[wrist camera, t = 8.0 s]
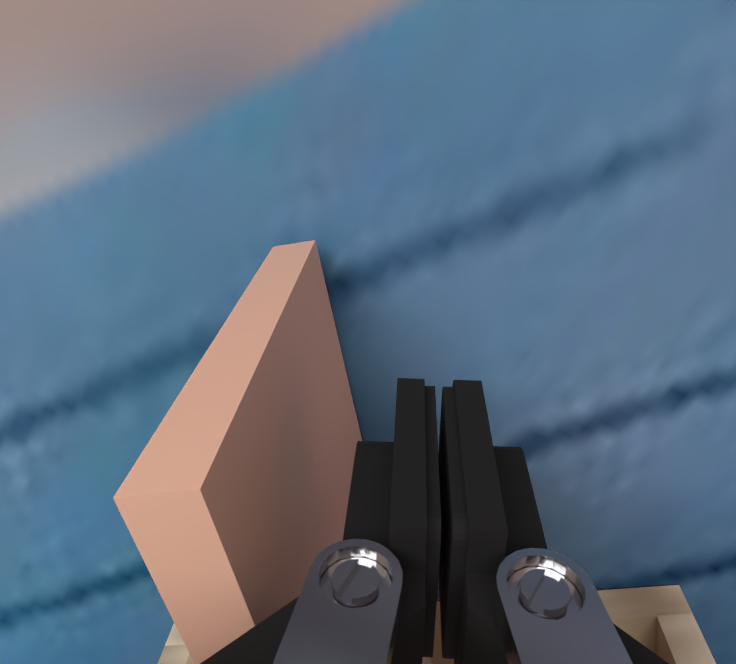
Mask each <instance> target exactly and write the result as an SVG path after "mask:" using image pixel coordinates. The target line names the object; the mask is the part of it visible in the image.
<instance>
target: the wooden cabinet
mask: <svg viewBox="0 0 736 664" xmlns="http://www.w3.org/2000/svg"><path fill="white" fill-rule="evenodd" d="M597 592H598V594H599V596H600V598H601V600H602V602H603V604H604V606H605V608H606V610H607V612H608V614H609V616H610V618H611V620H612V622H613V623H614V624H615V625H616V626H618V627H619V628H621V629H622V630H623V631H625V632H626V633H627V634H629V635H630V636H632V637H633V638H634V639H636V640H637V641H638V642H640V643H641V644H643V645H644V646H645V647H647V648H648V649H649V650H651V651H652V652H654V653H655V654H656V655H658V656H659V657H660V658H662V659H663V660H665V661H666V662H667V663H669V664H716V663H715V660H714V658H713V656H712V654H711V652H710V650H709V648H708V645H707V643H706V641H705V639H704V637H703V635H702V633H701V631H700V628H699V626H698V624H697V622H696V620H695V618H694V616H693V614H692V611H691V609H690V607H689V605H688V603H687V601H686V599H685V596H684V594H683V592H682V590H681V588H680V586H679V585H669V586H655V587H640V588H626V589H611V590H597ZM158 664H194V662H193V660H192V658H191V656H190V654H189V652H188V650H187V648H186V645H185V643H184V641H183V639H182V637H181V635H180V633H179V631H178V629H177V627H176V625H175V623H174V624H173V627H172V629H171V632H170V634H169V637H168V639H167V642H166V644H165V647H164V649H163V652H162V654H161V657H160V659H159V662H158ZM422 664H454V659H446V658H442V644H441V618H440V601H437V605H436V619H435V634H434V649H433V658H430V657H423V659H422Z"/></svg>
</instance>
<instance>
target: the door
mask: <svg viewBox="0 0 736 664" xmlns="http://www.w3.org/2000/svg"><path fill="white" fill-rule="evenodd" d="M358 441H362V438H361V433H360V429H359V425H358V420H357V416H356V412H355V408H354V403H353V399H352V395H351V390H350V386H349V382H348V378H347V373H346V369H345V365H344V361H343V356H342V352H341V348H340V343H339V339H338V335H337V331H336V326H335V322H334V318H333V313H332V309H331V305H330V301H329V296H328V292H327V288H326V284H325V279H324V275H323V271H322V266H321V262H320V258H319V254H318V249H317V245H316V241H315V240H313V241H306V242H300V243H294V244H287V245H281V246H275V247H273V248H272V249H271V251H270V253H269V254H268V256H267V257H266V259H265V260H264V262H263V264H262V265H261V267H260V268H259V270H258V271H257V273H256V274H255V276H254V278H253V279H252V281H251V282H250V284H249V285H248V287H247V289H246V290H245V292H244V293H243V295H242V296H241V298H240V300H239V301H238V303H237V304H236V306H235V307H234V309H233V311H232V312H231V314H230V315H229V317H228V318H227V320H226V322H225V323H224V325H223V326H222V328H221V329H220V331H219V333H218V334H217V336H216V337H215V339H214V340H213V342H212V343H211V345H210V347H209V348H208V350H207V351H206V353H205V354H204V356H203V358H202V359H201V361H200V362H199V364H198V365H197V367H196V369H195V370H194V372H193V373H192V375H191V376H190V378H189V380H188V381H187V383H186V384H185V386H184V387H183V389H182V391H181V392H180V394H179V395H178V397H177V398H176V400H175V402H174V403H173V405H172V406H171V408H170V409H169V411H168V412H167V414H166V416H165V417H164V419H163V420H162V422H161V423H160V425H159V427H158V428H157V430H156V431H155V433H154V434H153V436H152V438H151V439H150V441H149V442H148V444H147V445H146V447H145V449H144V450H143V452H142V453H141V455H140V456H139V458H138V460H137V461H136V463H135V464H134V466H133V467H132V469H131V471H130V472H129V474H128V475H127V477H126V478H125V480H124V481H123V483H122V485H121V486H120V488H119V489H118V491H117V492H116V494H115V496H114V497H113V499H114V501H115V503H116V505H117V507H118V509H119V511H120V513H121V515H122V517H123V519H124V521H125V523H126V525H127V527H128V530H129V532H130V534H131V536H132V538H133V540H134V542H135V544H136V546H137V548H138V550H139V552H140V554H141V556H142V558H143V560H144V562H145V564H146V566H147V568H148V570H149V572H150V574H151V576H152V578H153V580H154V582H155V584H156V586H157V589H158V591H159V593H160V595H161V597H162V599H163V601H164V603H165V605H166V607H167V609H168V611H169V613H170V615H171V617H172V619H173V621H174V623H175V625H176V627H177V629H178V631H179V633H180V635H181V637H182V639H183V641H184V643H185V645H186V648H187V650H188V652H189V654H190V656H191V658H192V660H193V662H194V664H200V663H202V662H203V661H205V660H206V659H208V658H209V657H211V656H212V655H213V654H215V653H216V652H218V651H219V650H221V649H222V648H224V647H225V646H227V645H228V644H230V643H231V642H232V641H234V640H235V639H237V638H238V637H240V636H241V635H243V634H244V633H246V632H247V631H249V630H250V629H251V628H253V627H254V626H256V625H257V624H259V623H260V622H262V621H263V620H265V619H266V618H268V617H269V616H271V615H272V614H273V613H275V612H276V611H278V610H279V609H281V608H282V607H284V606H285V605H287V604H288V603H290V602H291V601H292V600H294V599H295V598H297V597H298V596H299V594H300V592H301V589H302V587H303V584H304V581H305V579H306V576H307V574H308V571H309V568H310V566H311V565H312V563H313V561H314V559H315V558H316V556H317V555H318V554H319V553H321V552H322V551H323V550H324V549H325V548H326V547H328V546H330V545H332V544H334V543H337V542H339V541H343V534H344V527H345V520H346V513H347V506H348V499H349V492H350V486H351V479H352V472H353V465H354V458H355V451H356V445H357V442H358Z"/></svg>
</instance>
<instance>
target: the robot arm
mask: <svg viewBox="0 0 736 664" xmlns="http://www.w3.org/2000/svg"><path fill="white" fill-rule="evenodd" d="M438 575H439V592H440V618H441V644H442V658H446V659H454V664H669V663H667V662H666V661H665V660H663V659H662V658H660V657H659V656H658V655H656V654H655V653H654V652H652V651H651V650H649V649H648V648H647V647H645V646H644V645H643V644H641V643H640V642H638V641H637V640H636V639H634V638H633V637H632V636H630V635H629V634H627V633H626V632H625V631H623V630H622V629H621V628H619V627H618V626H616V625H615V624H614V623H613V622H612V620H611V618H610V616H609V614H608V612H607V610H606V608H605V606H604V604H603V602H602V600H601V598H600V596H599V594H598V592H597V590H596V588H595V586H594V584H593V582H592V580H591V579H590V578H589V576H588V575H587V573H586V572H585V570H584V569H582V568H581V567H580V566H579V565H578V564H577V563H576V562H574V561H573V560H572V559H570V558H568V557H566V556H564V555H562V554H560V553H558V552H555V551H551V550H548V549H547V546H546V542H545V538H544V534H543V530H542V526H541V522H540V518H539V513H538V509H537V505H536V501H535V497H534V493H533V489H532V485H531V481H530V477H529V473H528V469H527V465H526V461H525V456H524V453H523V450H522V449H521V448H520V447H498V446H493V444H492V438H491V432H490V427H489V421H488V415H487V410H486V404H485V398H484V393H483V387H482V382H481V381H470V380H454V381H453V387H443V389H442V404H441V421H440V437H439V454H438V441H437V420H436V399H435V386H425V383H424V379H408V378H398V382H397V400H396V418H395V436H394V442H373V441H358V442H357V445H356V451H355V458H354V465H353V472H352V479H351V486H350V492H349V499H348V506H347V513H346V520H345V527H344V534H343V541H339V542H337V543H334V544H332V545H330V546H328V547H326V548H325V549H324V550H323V551H322V552H321V553H319V554H318V555H317V556H316V558H315V559H314V561H313V563H312V565H311V566H310V568H309V571H308V574H307V576H306V579H305V581H304V584H303V587H302V589H301V592H300V594H299V596H298V597H297V598H295V599H294V600H292V601H291V602H290V603H288V604H287V605H285V606H284V607H282V608H281V609H279V610H278V611H276V612H275V613H273V614H272V615H271V616H269V617H268V618H266V619H265V620H263V621H262V622H260V623H259V624H257V625H256V626H254V627H253V628H251V629H250V630H249V631H247V632H246V633H244V634H243V635H241V636H240V637H238V638H237V639H235V640H234V641H232V642H231V643H230V644H228V645H227V646H225V647H224V648H222V649H221V650H219V651H218V652H216V653H215V654H213V655H212V656H211V657H209V658H208V659H206V660H205V661H203V662H202V663H200V664H422V659H423V657H430V658H433V649H434V634H435V619H436V605H437V590H438Z"/></svg>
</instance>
